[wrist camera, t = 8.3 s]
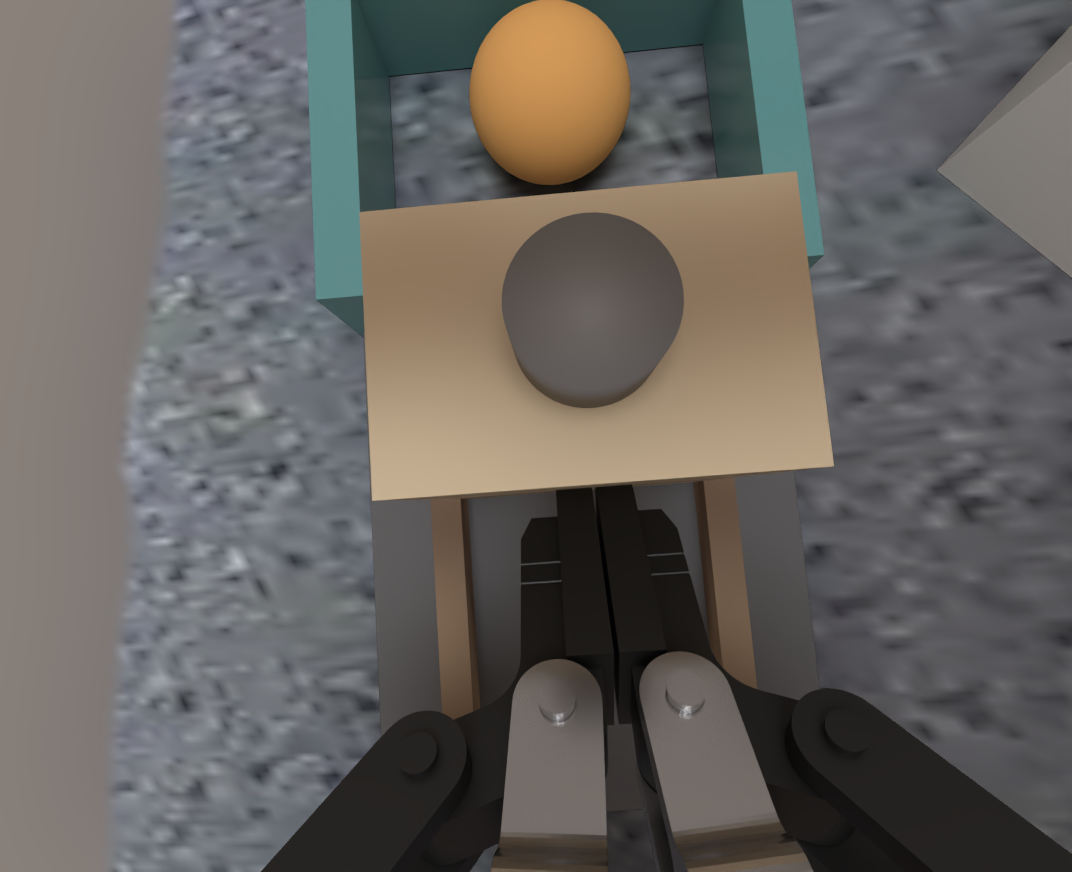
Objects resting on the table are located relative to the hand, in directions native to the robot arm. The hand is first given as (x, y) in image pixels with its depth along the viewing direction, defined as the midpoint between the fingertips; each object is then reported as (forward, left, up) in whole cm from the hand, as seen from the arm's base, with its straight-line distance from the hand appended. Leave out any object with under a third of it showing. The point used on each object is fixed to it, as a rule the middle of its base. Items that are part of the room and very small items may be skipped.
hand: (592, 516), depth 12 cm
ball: (+9, -7, -3) cm, 12 cm away
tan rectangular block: (+2, -2, -5) cm, 5 cm away
